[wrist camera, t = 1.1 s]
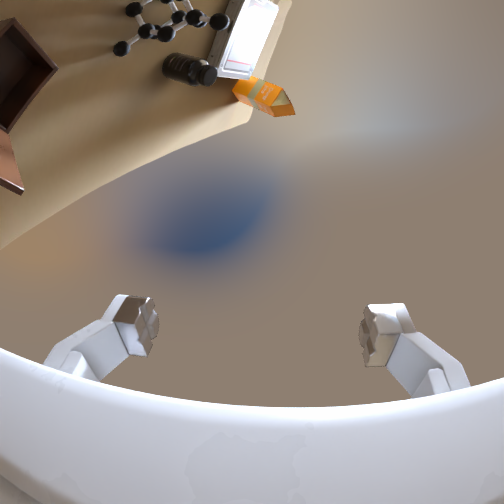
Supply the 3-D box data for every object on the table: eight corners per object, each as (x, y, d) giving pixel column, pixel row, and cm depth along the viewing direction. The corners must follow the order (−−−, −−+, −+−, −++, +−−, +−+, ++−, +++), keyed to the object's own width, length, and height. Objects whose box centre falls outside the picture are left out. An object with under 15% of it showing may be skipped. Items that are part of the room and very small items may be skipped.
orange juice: (239, 101, 92) (289, 124, 88) (231, 90, 83) (285, 113, 79) (251, 84, 90) (301, 106, 86) (243, 72, 82) (298, 94, 78)
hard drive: (202, 72, 66) (215, 76, 66) (235, -14, 50) (250, -12, 49) (237, 76, 81) (249, 80, 80) (266, 4, 65) (279, 7, 64)
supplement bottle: (186, 61, 59) (224, 73, 56) (169, 82, 59) (207, 96, 57) (174, 46, 52) (214, 56, 50) (156, 68, 53) (195, 81, 50)
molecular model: (184, 22, 49) (259, 39, 45) (112, 58, 41) (185, 78, 37) (180, -44, 33) (266, -40, 29) (95, -19, 25) (177, -27, 21)
